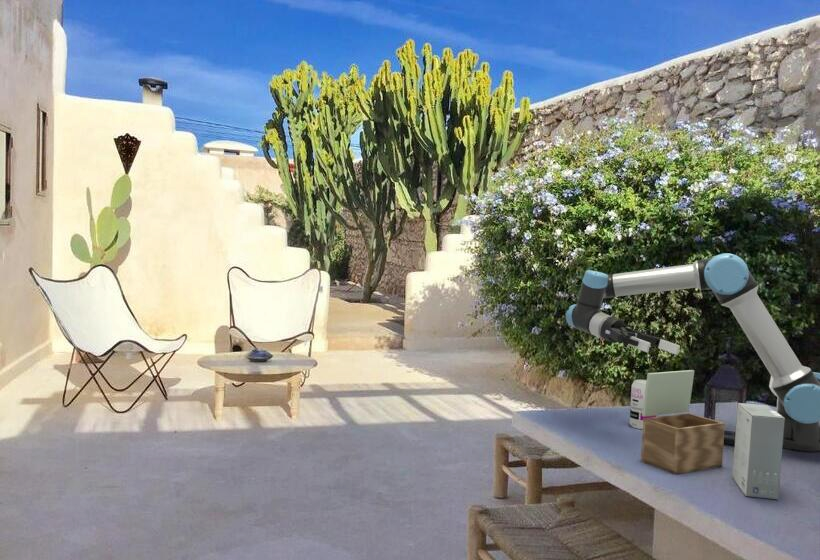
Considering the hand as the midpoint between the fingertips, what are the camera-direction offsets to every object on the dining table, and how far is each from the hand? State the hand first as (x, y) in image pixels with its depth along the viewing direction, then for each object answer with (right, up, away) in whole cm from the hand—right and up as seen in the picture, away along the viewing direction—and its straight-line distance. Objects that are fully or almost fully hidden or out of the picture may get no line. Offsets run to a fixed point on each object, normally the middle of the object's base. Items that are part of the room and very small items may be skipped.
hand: (663, 349), depth 214 cm
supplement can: (+3, -29, +31) cm, 42 cm away
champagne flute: (+53, -30, +41) cm, 73 cm away
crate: (+2, -31, -9) cm, 32 cm away
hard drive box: (+13, -32, -28) cm, 45 cm away
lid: (0, -12, -6) cm, 13 cm away
